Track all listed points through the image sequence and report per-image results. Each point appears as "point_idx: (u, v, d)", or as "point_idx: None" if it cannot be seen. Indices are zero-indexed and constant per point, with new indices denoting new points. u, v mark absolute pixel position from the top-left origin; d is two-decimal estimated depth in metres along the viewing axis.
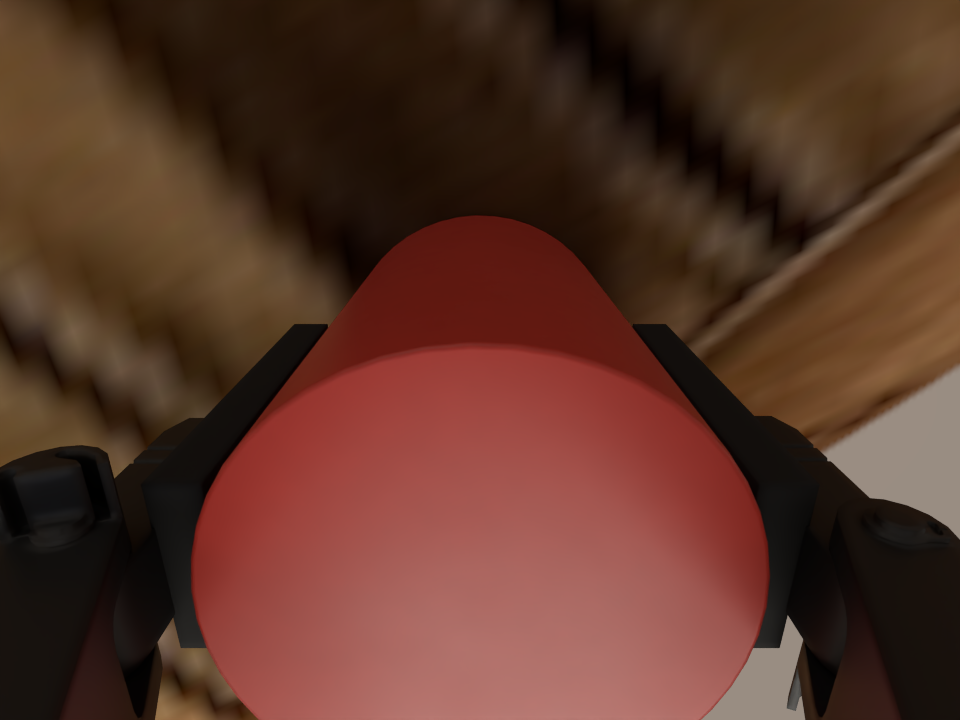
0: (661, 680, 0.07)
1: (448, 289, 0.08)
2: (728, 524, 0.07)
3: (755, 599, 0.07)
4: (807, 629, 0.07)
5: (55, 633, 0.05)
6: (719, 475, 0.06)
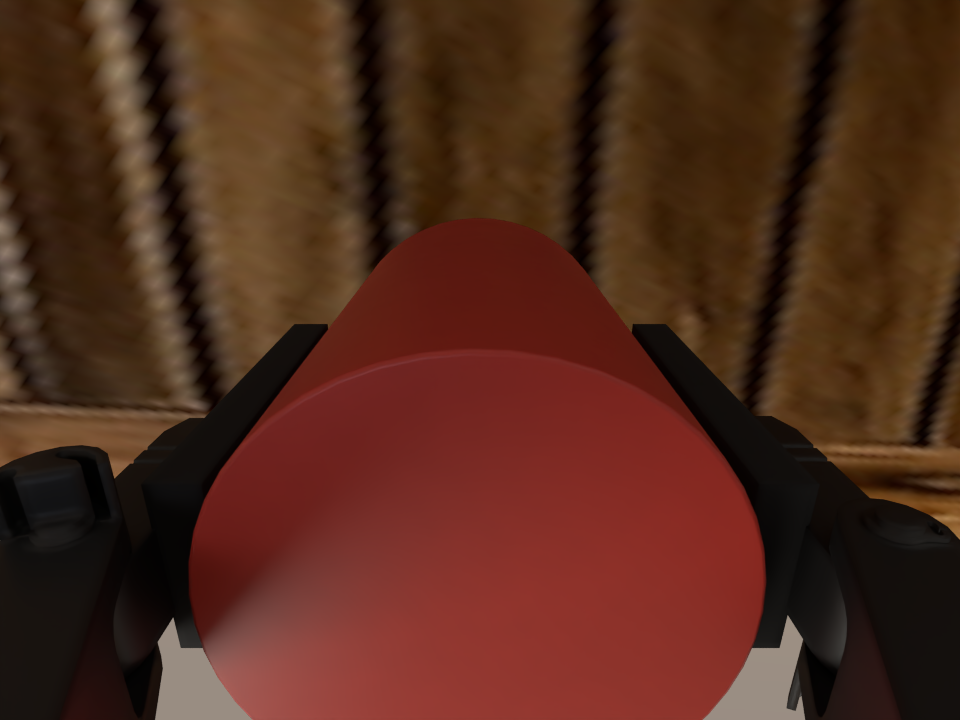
0: (658, 684, 0.07)
1: (446, 294, 0.08)
2: (725, 529, 0.07)
3: (751, 604, 0.07)
4: (806, 629, 0.07)
5: (56, 633, 0.05)
6: (716, 481, 0.06)
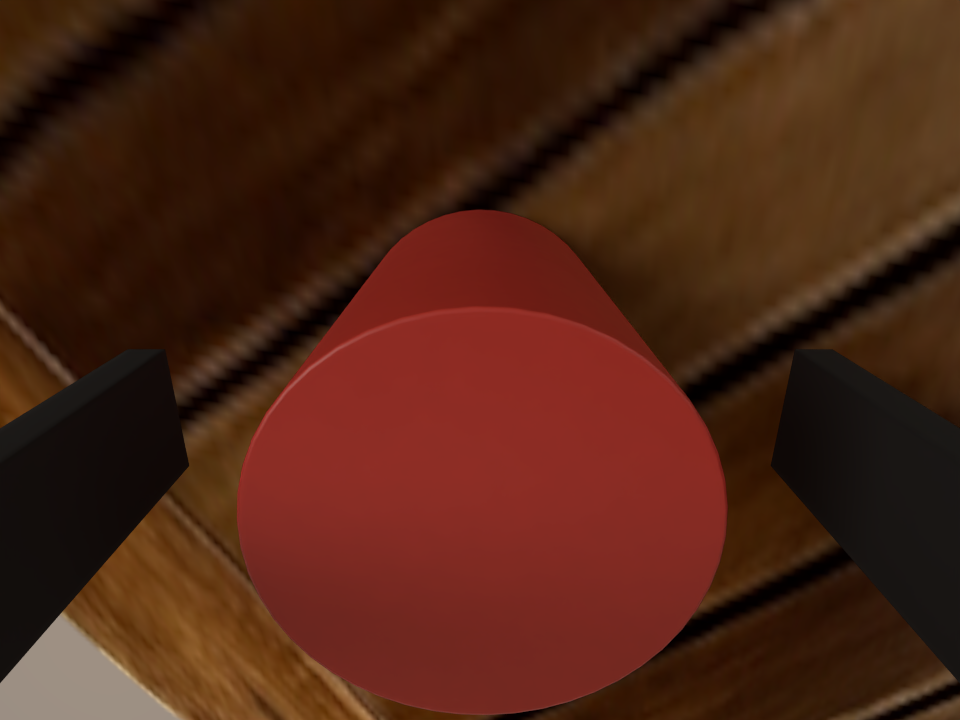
0: (637, 602, 0.09)
1: (454, 268, 0.09)
2: (691, 463, 0.08)
3: (714, 529, 0.08)
4: None
5: None
6: (682, 420, 0.08)
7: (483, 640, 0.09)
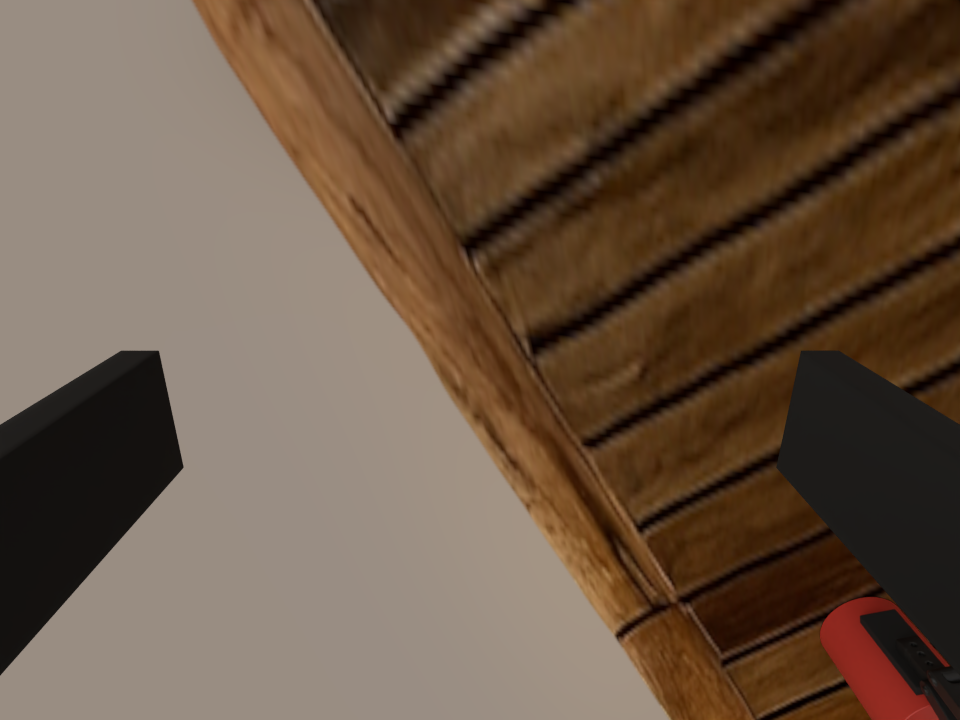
0: None
1: None
2: None
3: None
4: None
5: None
6: None
7: None
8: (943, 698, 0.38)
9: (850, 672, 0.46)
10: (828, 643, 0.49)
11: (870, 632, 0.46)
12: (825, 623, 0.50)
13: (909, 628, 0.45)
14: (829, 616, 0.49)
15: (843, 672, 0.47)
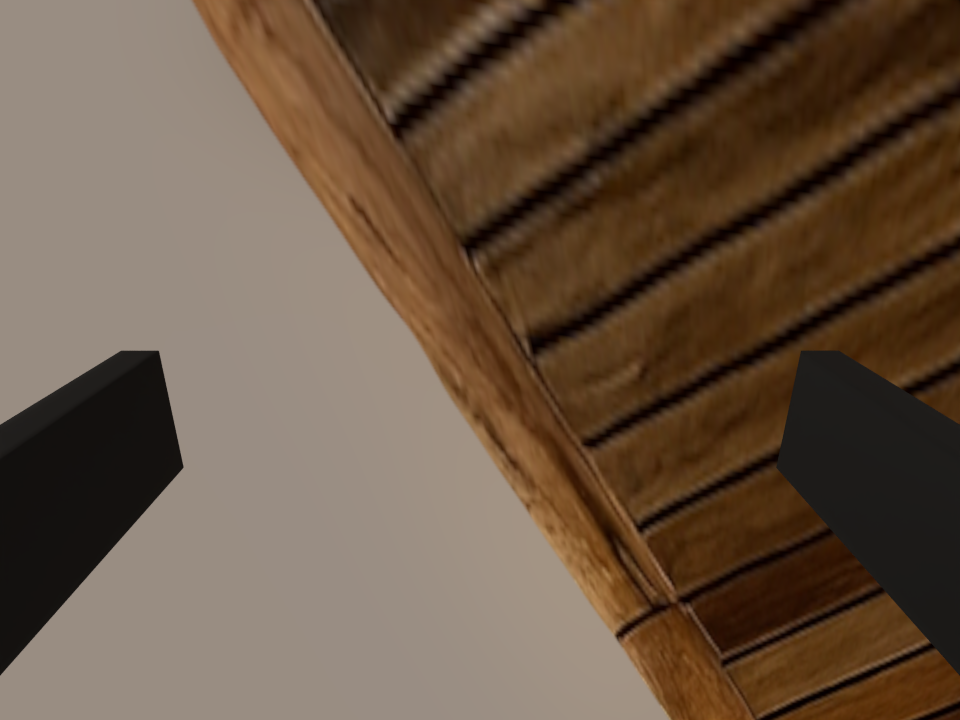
0: None
1: None
2: None
3: None
4: None
5: None
6: None
7: None
8: None
9: None
10: None
11: None
12: None
13: None
14: None
15: None
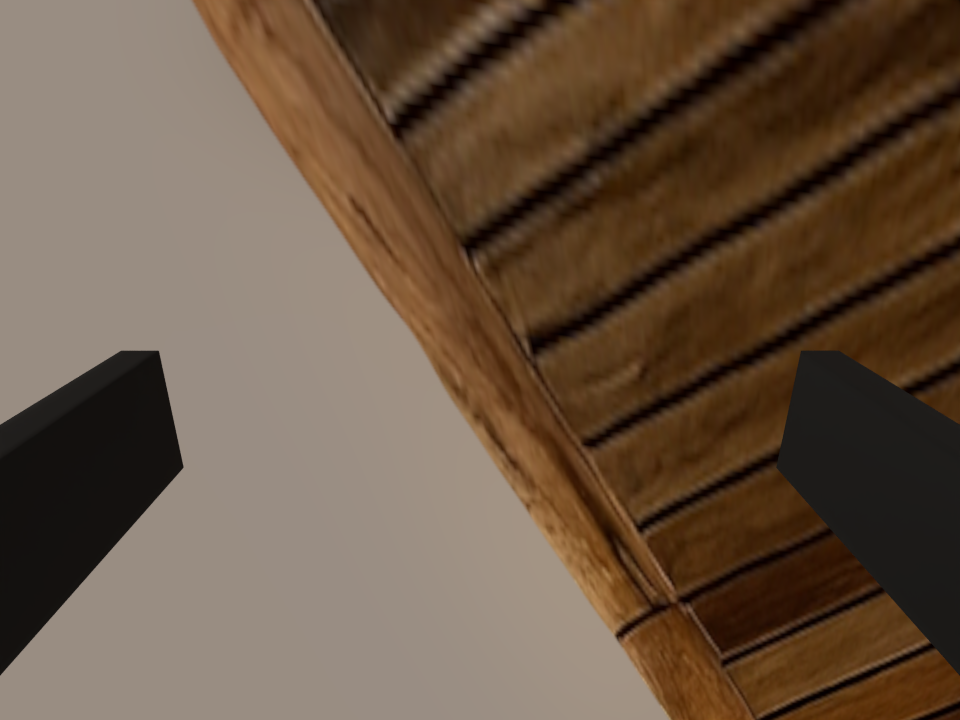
0: None
1: None
2: None
3: None
4: None
5: None
6: None
7: None
8: None
9: None
10: None
11: None
12: None
13: None
14: None
15: None
